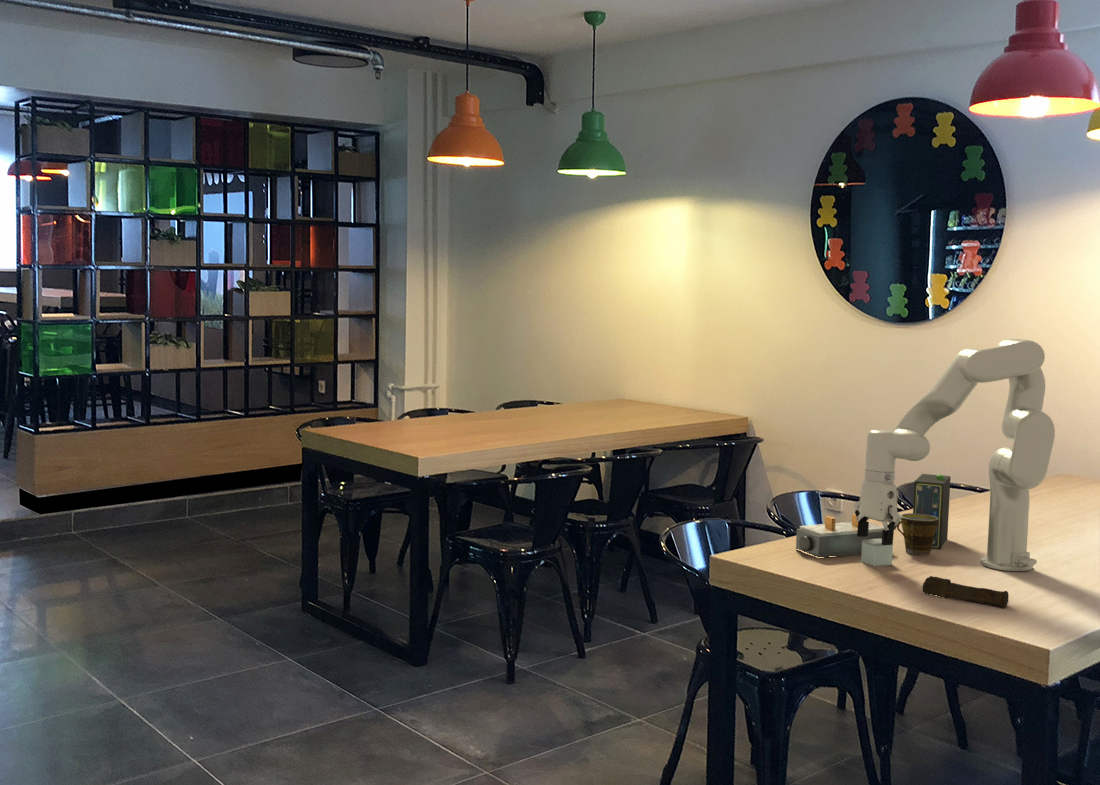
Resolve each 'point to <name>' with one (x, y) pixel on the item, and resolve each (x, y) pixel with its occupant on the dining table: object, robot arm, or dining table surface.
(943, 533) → the dark grey box
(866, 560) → the pale grey cube
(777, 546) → the dining table surface
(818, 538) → the grey toaster
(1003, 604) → the dark brown flashlight
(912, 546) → the ceramic cup
